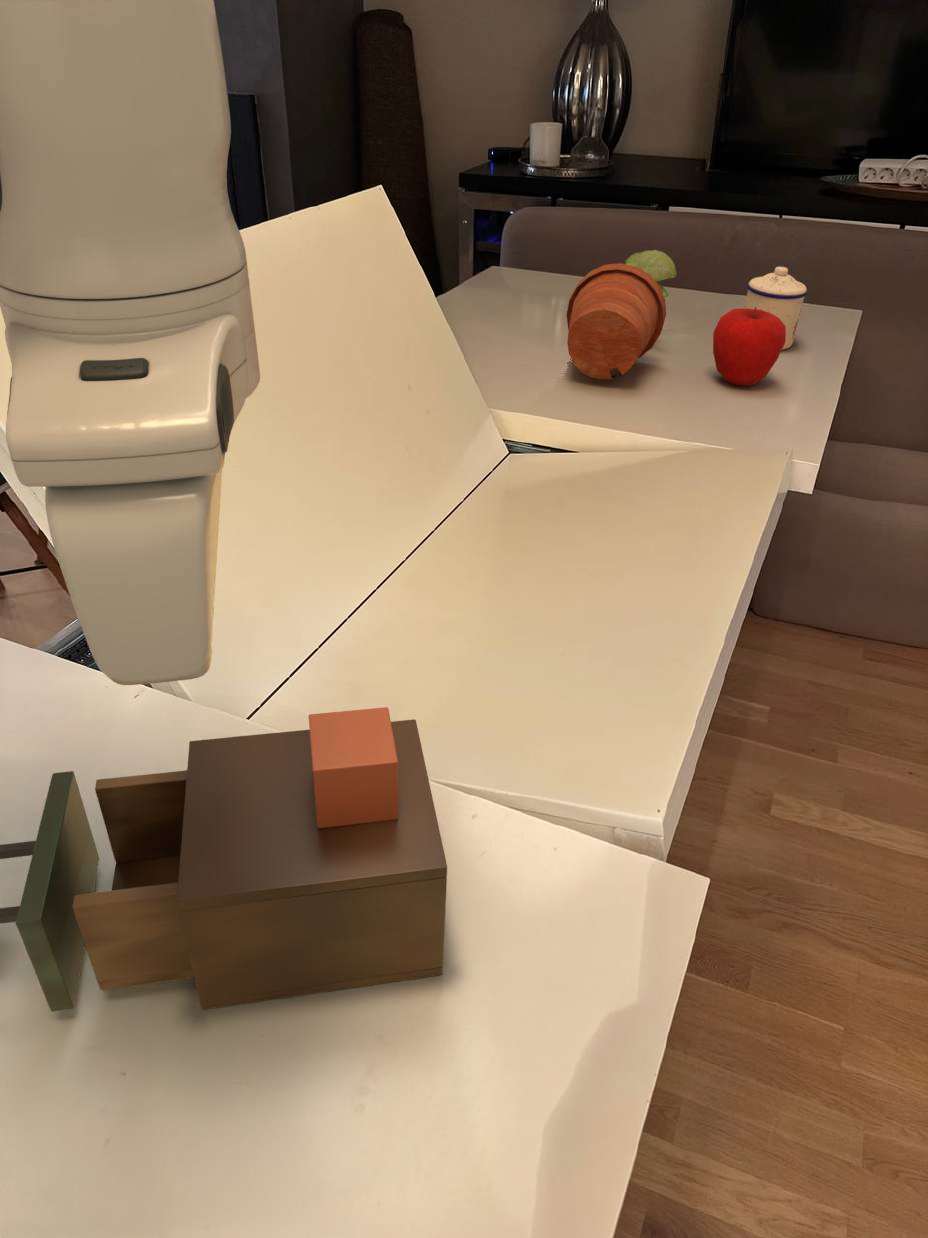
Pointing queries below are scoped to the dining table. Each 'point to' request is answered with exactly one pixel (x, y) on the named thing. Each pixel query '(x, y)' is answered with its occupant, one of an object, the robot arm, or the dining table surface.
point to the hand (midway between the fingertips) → (194, 633)
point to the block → (354, 767)
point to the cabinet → (304, 875)
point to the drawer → (111, 920)
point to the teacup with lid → (778, 299)
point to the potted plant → (618, 314)
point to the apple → (747, 345)
